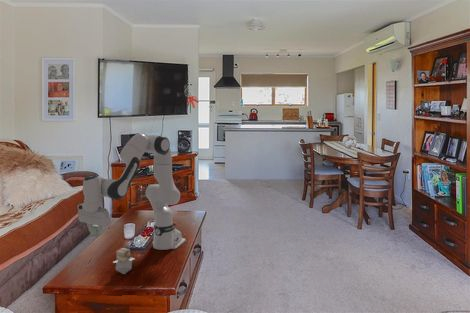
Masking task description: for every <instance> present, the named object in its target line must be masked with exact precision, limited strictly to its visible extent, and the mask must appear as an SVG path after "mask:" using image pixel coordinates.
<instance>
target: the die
mask: <svg viewBox="0 0 470 313" xmlns="http://www.w3.org/2000/svg"><path fill="white" fill-rule="evenodd" d="M132 264H133V260H132V261H130V260H129V259H128V260H126V261H124V262H123V261H119V260H118V261H117V263H116V264H115V271H116V272H119V273H120V274H122V275H123V274H124V275H126V274H127V273H128V272H130V271H131V270H132V268H133V266H132Z"/></svg>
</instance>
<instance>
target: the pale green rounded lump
mask: <svg viewBox="0 0 470 313" xmlns="http://www.w3.org/2000/svg"><path fill="white" fill-rule="evenodd" d="M98 229H99V227H98V225H94V224H91V226H90V231H89V234H90V237H93V238H96V237H99V236H101V233H97V230H98Z"/></svg>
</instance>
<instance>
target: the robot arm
mask: <svg viewBox="0 0 470 313" xmlns="http://www.w3.org/2000/svg"><path fill="white" fill-rule="evenodd" d="M170 145H171V143H170V140H169V138H168V137H167V136H164V135H159V134H143V133H136V134H134V135H133V136H132V137H131V138H130V139H128V141H127V142H126V144H125V145H124V146H123V148H122V149H121V152H120V153H119V154H120V159H121V161H122V163H124V164H125V168H124V170H123V172H122V174H121V175H120V177H119V178H117V179H114V178H113V179H111V178H107V177H103V176H100V175H99V174H96V173H93V174H89V175H86V176H85V177H84V178H83V181H82V192H83V197H84V200H83V203H80V204H77V215H78V216H77V217H78V221H79V222H80V223H85V224H86V227H87V229H88V231H89V232H90V226H91V225H98V227H99V229H98V230H97V233H100V234H102V229H103V228H106V227H109V226H110V225H111V224H112V222H111V216H110V215H111V214H110V212H109V210H108V209H107V208H104V207H103V205H104V204H103V197H105V198H108V199H109V198H110V199H113V200H115V201H120V200H121V201H122V199H124V198H125V197H126V195H127V194H128V190H129V187H130V185H131V183H132V181H133V180H134V177H135V175H136V173H137V172H138V169H139V167H140V164H141V163H140V162H141V161H140V160H141V158H142V157H143V155H144V154H145V153H147V154H153V177H154V179H156V181H157V183H155V184H149V185H148V186H147V187H146V190H145V197H146V198H147V199H148V200H149V202H150V204H151V207H152V210H153V216H154V218H153V219H154V225H153V228H154V229H153V230H154V231H153V240H152V248H153V249H155V250H158V251H159V250H160V251H162V250H163V251H164V250H166V251H167V250H171V249H172V250H175V249H177V248H178V247H180V246H181V245H183V244H184V243H185V242H186V238H185V237H183V235H182V231H180V230H178V229H177V228H176V227H177V225H178V223H177V222H173V211H172V209H171V208H170V207H169V205H170V206H172V205H177V204H178V203H179V201H180V199H181V192H180V190H179V189H178V188H177V187H176V185H175V182H174V178H173V158H172V157H173V156H172V152H171V151H172V150H171V148H170V147H171V146H170Z"/></svg>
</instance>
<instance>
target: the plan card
mask: <svg viewBox="0 0 470 313" xmlns="http://www.w3.org/2000/svg"><path fill="white" fill-rule="evenodd" d="M129 260H130V261H132V262H133V261H134V260H136V258H134V257H132V256H130V259H129ZM117 261H118V260H117V259H116V260H114V261H112V263H113V264H115V263H117Z"/></svg>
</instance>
